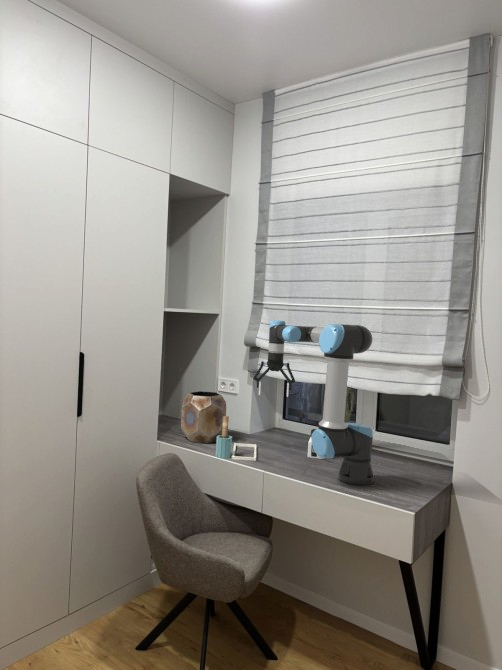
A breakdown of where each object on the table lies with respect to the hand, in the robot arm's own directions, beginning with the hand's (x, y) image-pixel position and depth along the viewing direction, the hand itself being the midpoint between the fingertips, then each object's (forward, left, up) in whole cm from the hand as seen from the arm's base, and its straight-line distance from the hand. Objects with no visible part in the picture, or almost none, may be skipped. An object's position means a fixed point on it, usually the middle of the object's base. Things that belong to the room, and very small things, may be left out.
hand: (273, 395), depth 251 cm
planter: (+16, +35, -28) cm, 48 cm away
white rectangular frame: (-9, +12, -28) cm, 31 cm away
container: (-3, -22, -28) cm, 36 cm away
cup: (-16, +22, -28) cm, 39 cm away
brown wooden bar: (-16, +22, -27) cm, 38 cm away
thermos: (+14, -36, -28) cm, 48 cm away
